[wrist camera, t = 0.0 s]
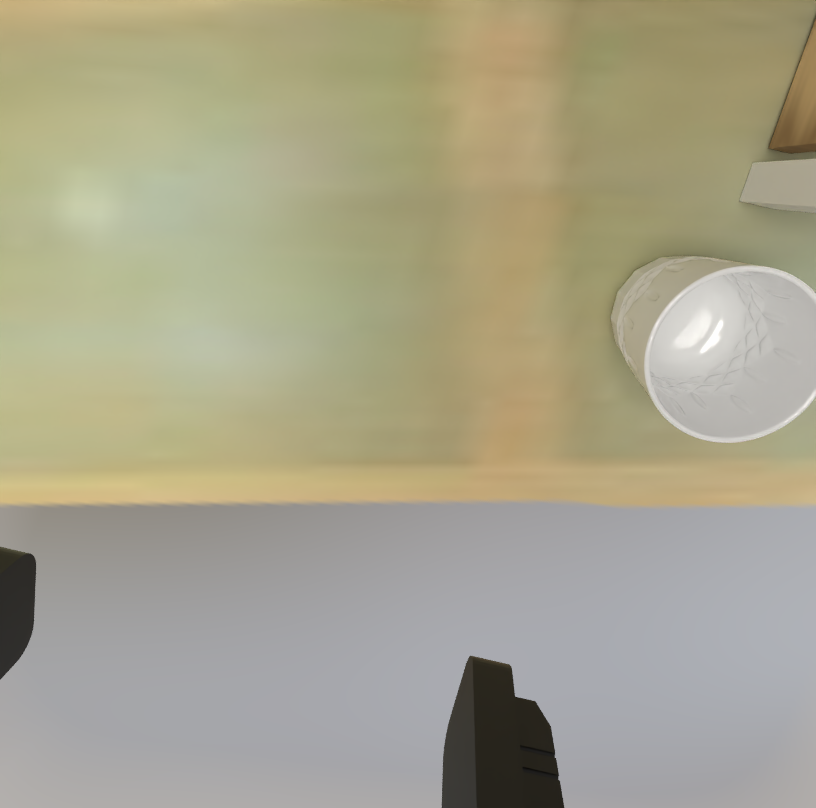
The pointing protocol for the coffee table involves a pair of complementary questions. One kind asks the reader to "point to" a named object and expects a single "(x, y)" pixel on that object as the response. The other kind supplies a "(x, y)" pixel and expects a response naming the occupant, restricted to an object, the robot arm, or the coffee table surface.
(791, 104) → the door
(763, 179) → the door frame
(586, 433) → the coffee table surface
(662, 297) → the white cup
